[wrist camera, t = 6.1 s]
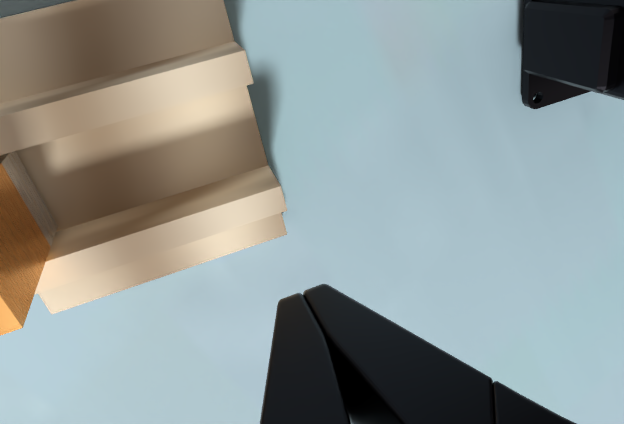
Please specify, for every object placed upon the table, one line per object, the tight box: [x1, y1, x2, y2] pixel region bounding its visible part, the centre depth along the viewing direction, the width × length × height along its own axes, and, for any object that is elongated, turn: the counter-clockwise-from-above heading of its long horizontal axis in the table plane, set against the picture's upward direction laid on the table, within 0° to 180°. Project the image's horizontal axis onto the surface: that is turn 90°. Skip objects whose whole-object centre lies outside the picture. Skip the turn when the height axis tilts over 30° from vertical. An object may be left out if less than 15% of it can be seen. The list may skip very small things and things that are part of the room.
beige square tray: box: [0, 0, 287, 314], centre depth 16 cm, size 10×10×3 cm
